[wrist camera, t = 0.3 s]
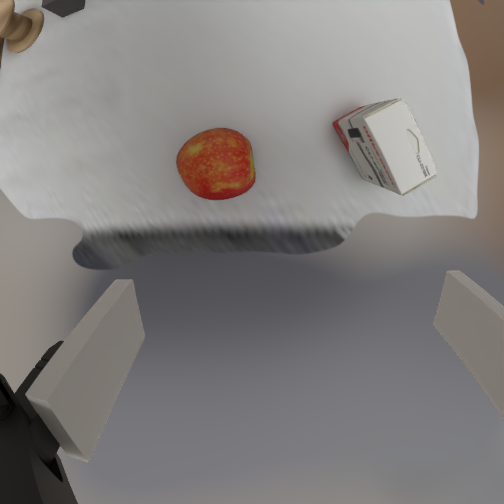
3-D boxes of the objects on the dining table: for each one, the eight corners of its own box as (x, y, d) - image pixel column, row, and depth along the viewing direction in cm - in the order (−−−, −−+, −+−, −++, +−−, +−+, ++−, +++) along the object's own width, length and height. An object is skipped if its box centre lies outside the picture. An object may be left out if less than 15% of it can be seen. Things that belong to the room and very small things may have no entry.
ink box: (330, 123, 34) (363, 115, 23) (361, 106, 33) (404, 94, 22) (362, 181, 37) (404, 198, 25) (391, 164, 36) (440, 175, 25)
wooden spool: (13, 21, 26) (-18, 11, 17) (46, 2, 25) (16, -13, 17) (8, 59, 28) (-27, 53, 20) (41, 41, 28) (6, 30, 20)
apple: (256, 191, 37) (257, 203, 30) (189, 197, 37) (174, 210, 30) (252, 127, 34) (251, 122, 27) (183, 134, 35) (165, 132, 27)
